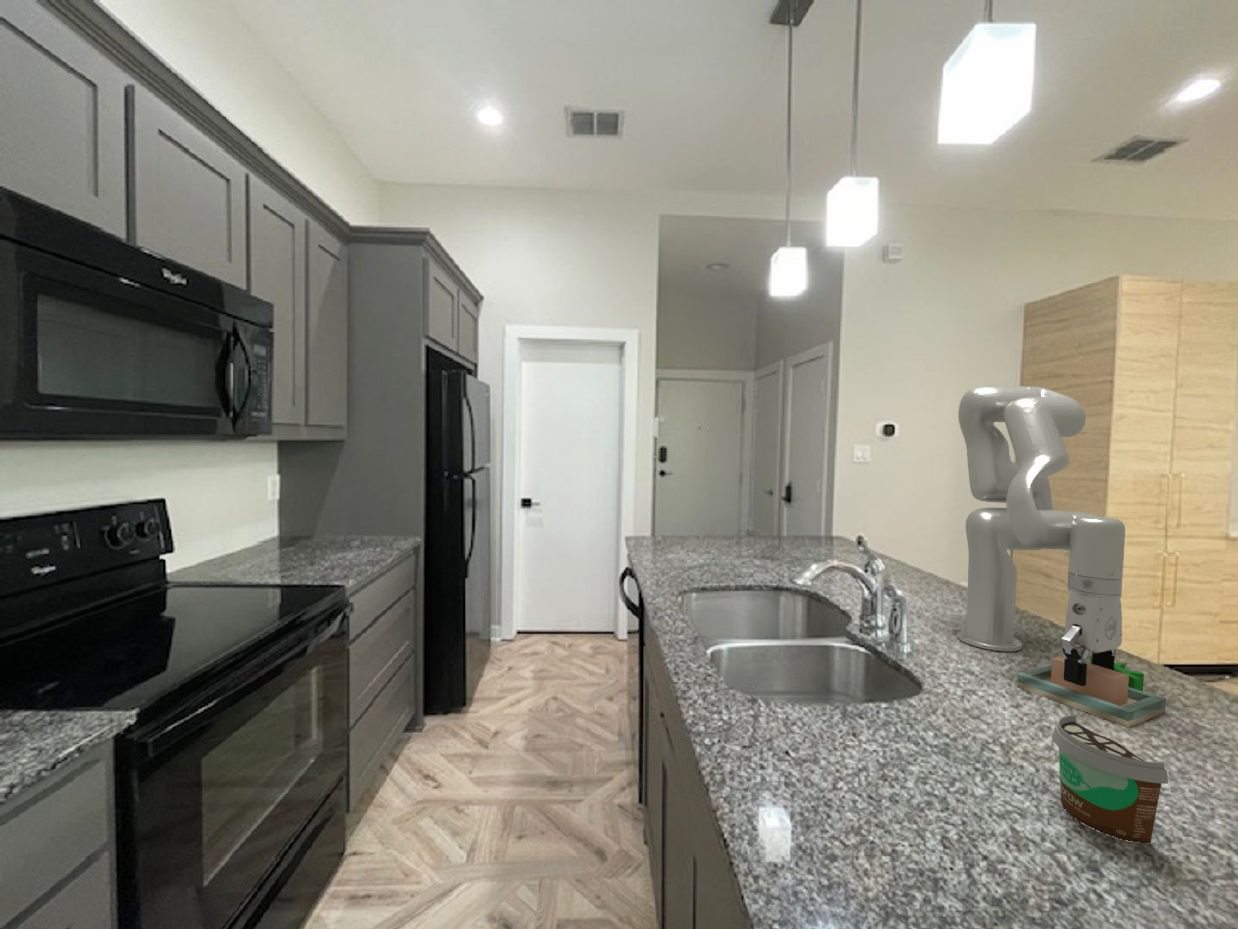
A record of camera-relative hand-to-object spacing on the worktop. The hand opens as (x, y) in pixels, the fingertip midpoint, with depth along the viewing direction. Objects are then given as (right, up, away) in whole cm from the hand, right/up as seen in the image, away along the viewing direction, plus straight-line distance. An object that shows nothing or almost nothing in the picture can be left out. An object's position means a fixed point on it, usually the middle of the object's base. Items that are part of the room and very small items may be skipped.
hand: (1088, 678), depth 103 cm
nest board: (0, -4, 0) cm, 4 cm away
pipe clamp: (+10, -4, +5) cm, 12 cm away
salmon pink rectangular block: (0, -3, 0) cm, 3 cm away
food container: (-28, -4, -34) cm, 45 cm away
